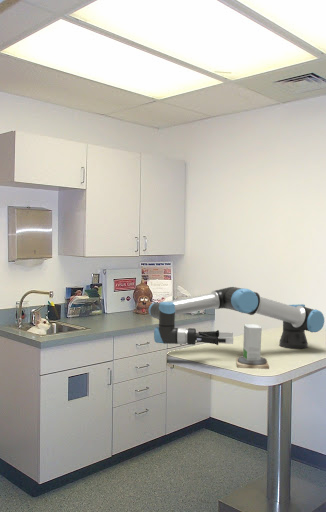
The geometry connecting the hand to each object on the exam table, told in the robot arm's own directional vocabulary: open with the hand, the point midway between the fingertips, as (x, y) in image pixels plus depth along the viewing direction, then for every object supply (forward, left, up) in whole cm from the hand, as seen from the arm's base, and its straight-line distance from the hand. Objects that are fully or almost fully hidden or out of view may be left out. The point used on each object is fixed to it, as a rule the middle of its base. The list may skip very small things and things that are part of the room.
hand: (233, 337), depth 224 cm
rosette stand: (-9, 0, -12) cm, 15 cm away
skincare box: (-9, 0, -10) cm, 13 cm away
